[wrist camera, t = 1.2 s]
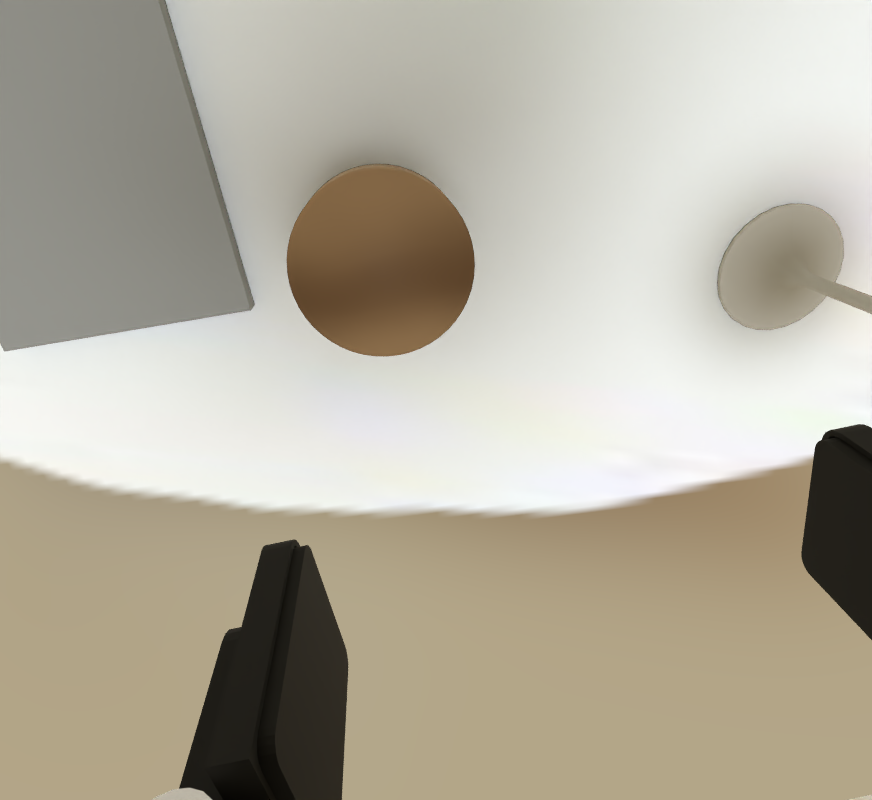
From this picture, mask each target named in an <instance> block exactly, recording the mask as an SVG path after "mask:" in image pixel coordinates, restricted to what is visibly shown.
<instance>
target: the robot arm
mask: <svg viewBox="0 0 872 800" xmlns="http://www.w3.org/2000/svg"><path fill="white" fill-rule="evenodd" d="M802 561H803V564H804V566H805V568H806V570H807V571H808V573H809V574H810V575H811V576H812V577H813V578H814V580H815V581H816V582H817V583H818V584H819V585H820V586H821V587H822V588H823V589H824V590H825V591H826V592H827V593H828V594H829V595H830V596H831V597H832V598H833V600H835V602H837V604H838V605H839V606H840V607H841V608H842V609H843V610H844V611H845V612H846V613H847V614H848V615H849V616H850V618H851V619H852V620H853V621H854V622H855V623H856V624H857V625H858V626H859V627H860V628H861V629H862V630H863V631H864V632H865V633H866V634H867V635H868V637H869V638H870V639H871V640H872V428H871V427H869V426H866V425H861V424H858V425H854V426H849V427H844V428H839V429H834V430H830V431H828V432H826V433H825V434H824V436H823V438H822V440H821V441H819V442H818V443H817V444H816V447H815V452H814V460H813V468H812V475H811V483H810V491H809V499H808V506H807V514H806V522H805V529H804V537H803V545H802ZM347 682H348V658H347V652H346V648H345V645H344V642H343V639H342V636H341V633H340V630H339V628H338V625H337V622H336V619H335V616H334V613H333V611H332V608H331V605H330V602H329V599H328V596H327V594H326V591H325V588H324V585H323V582H322V579H321V576H320V574H319V571H318V568H317V565H316V563H315V559H314V557H313V554H312V551H311V549H310V547H309V546H308V545H306V546H301V547H300V545H299V543H298V542H297V541H296V540H289V541H284V542H280V543H275V544H270V545H265V546H264V547H263V549H262V551H261V555H260V559H259V563H258V567H257V570H256V574H255V578H254V582H253V585H252V589H251V593H250V597H249V601H248V604H247V608H246V612H245V616H244V620H243V623H242V627H240V628H235V629H230V630H229V631H228V632H227V633H226V634H225V636H224V639H223V641H222V644H221V647H220V651H219V654H218V658H217V661H216V664H215V668H214V671H213V675H212V678H211V681H210V685H209V688H208V692H207V695H206V698H205V702H204V705H203V709H202V713H201V716H200V719H199V723H198V726H197V729H196V733H195V736H194V740H193V743H192V746H191V750H190V753H189V757H188V760H187V764H186V767H185V770H184V774H183V777H182V781H181V784H180V787H179V789H175V790H171V791H169V792H167V793H164V794H162V795H159V796H157V797H155V798H154V799H153V800H342V783H343V782H342V781H343V763H344V762H343V761H344V741H345V722H346V702H347ZM849 800H872V795H868V796H864V797H859V798H854V799H849Z"/></svg>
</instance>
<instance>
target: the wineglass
mask: <svg viewBox="0 0 872 800" xmlns="http://www.w3.org/2000/svg"><path fill="white" fill-rule="evenodd" d="M843 256H844V251H843V238H842V235H841V231H840V228H839V227H838V225H837V224H836V222H835V221H834V219H833V218H832V217H831V216H830V215H829V214H827V213H826V212H825V211H823V210H822V209H820V208H817V207H814V206H811V205H807V204H787V205H783V206H778V207H774V208H772V209H770V210H768V211H766V212H764V213H762V214H760V215H758V216H757V217H756V218H754V219H753V220H752V221H750V222H749V223H748V224H746V225H745V226H744V227H743V229H742V230H741V231H740V232H739V233H738V234H737V235H736V236H735V237H734V239H733V240H732V242H731V244H730V245H729V247H728V249H727V250H726V252H725V254H724V257H723V259H722V262H721V265H720V268H719V275H718V282H717V284H718V292H719V298H720V300H721V303H722V305H723V308H724V309H725V311H726V312H727V313H728V314H729V315H730V317H731V318H732V319H734V320H735V321H737V322H739V323H740V324H742V325H743V326H746V327H749V328H753V329H757V330H772V329H776V328H781V327H785V326H787V325H790V324H792V323H794V322H796V321H798V320H800V319H802V318H803V317H804V316H806V315H807V314H809V313H810V312H812V311H813V310H814V309H815V308H816V307H817V306H818V305H819V304H820V303H821V302H822V301H823V300H824V299H825V297H826V296H829V297H831V298H834V299H836V300H839V301H841V302H844V303H846V304H848V305H851V306H853V307H856V308H858V309H861V310H863V311H866V312H868V313H871V314H872V296H870V295H868V294H865V293H862V292H859V291H857V290H854V289H851V288H849V287H846V286H843V285H840V284H838V283H835V281H836V279H837V277H838V275H839V272H840V270H841V265H842V261H843Z"/></svg>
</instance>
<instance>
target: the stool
mask: <svg viewBox="0 0 872 800" xmlns="http://www.w3.org/2000/svg"><path fill="white" fill-rule="evenodd" d="M474 268H475V263H474V251H473V245H472V241H471V238H470V235H469V232H468V229H467V227H466V225H465V223H464V221H463V219H462V217H461V216H460V214H459V212H458V211H457V209H456V208H455V207H454V205H453V204H452V203H451V202H450V201H449V199H448V198H447V197H446V196H445V195H444V194H443V192H442V191H441V190H440V189H439V188H438V187H436V186H435V185H434V184H433V183H432V182H431V181H429V180H428V179H426V178H425V177H423V176H422V175H420V174H418V173H416V172H414V171H412V170H409V169H406V168H403V167H400V166H394V165H389V164H369V165H362V166H358V167H354V168H351V169H349V170H346V171H344V172H342V173H340V174H338V175H336V176H335V177H333V178H331V179H330V180H329V181H328V182H326V183H325V184H324V185H323V186H322V187H321V188H320V189H319V190H318V191H317V192H316V193H315V194H314V195H313V197H312V198H311V199H310V200H309V202H308V203H307V204H306V206H305V207H304V209H303V210H302V211H301V213H300V215H299V217H298V218H297V220H296V222H295V224H294V227H293V230H292V232H291V235H290V240H289V244H288V251H287V273H288V278H289V283H290V287H291V290H292V293H293V296H294V298H295V300H296V302H297V304H298V307H299V308H300V310H301V311H302V313H303V314H304V316H305V318H306V319H307V320H308V321H309V322H310V323H311V325H312V326H313V327H314V328H315V329H316V330H317V331H318V332H320V333H321V334H322V335H323V336H324V337H326V338H327V339H329V340H330V341H331V342H333V343H335V344H337V345H339V346H340V347H342V348H345V349H347V350H350V351H352V352H356V353H360V354H364V355H371V356H395V355H401V354H405V353H409V352H412V351H415V350H418V349H420V348H422V347H424V346H426V345H428V344H430V343H431V342H433V341H434V340H436V339H437V338H439V337H440V336H441V335H442V334H443V333H445V332H446V331H447V330H448V329H449V328H450V327H451V326H452V324H453V323H454V322H455V321H456V320H457V318H458V317H459V315H460V314H461V312H462V310H463V309H464V307H465V305H466V303H467V300H468V298H469V295H470V292H471V289H472V284H473V279H474Z"/></svg>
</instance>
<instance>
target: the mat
mask: <svg viewBox="0 0 872 800" xmlns="http://www.w3.org/2000/svg"><path fill="white" fill-rule="evenodd" d="M253 306H254V302H253V298H252V295H251V292H250V288H249V285H248V281H247V278H246V275H245V271H244V268H243V264H242V261H241V258H240V254H239V251H238V247H237V244H236V241H235V237H234V234H233V230H232V227H231V224H230V220H229V217H228V214H227V210H226V207H225V203H224V200H223V197H222V193H221V190H220V186H219V183H218V180H217V176H216V173H215V169H214V166H213V163H212V159H211V156H210V152H209V149H208V146H207V142H206V139H205V135H204V132H203V129H202V125H201V122H200V118H199V115H198V112H197V108H196V105H195V102H194V98H193V95H192V91H191V88H190V85H189V81H188V78H187V74H186V71H185V68H184V64H183V61H182V57H181V54H180V51H179V47H178V44H177V40H176V37H175V34H174V30H173V27H172V23H171V20H170V17H169V13H168V10H167V7H166V3H165V0H0V344H1V346H2V348H3V350H4V351H10V350H16V349H22V348H28V347H34V346H40V345H46V344H52V343H58V342H64V341H70V340H76V339H82V338H88V337H94V336H99V335H105V334H111V333H117V332H123V331H129V330H135V329H141V328H147V327H153V326H159V325H165V324H171V323H177V322H183V321H189V320H195V319H201V318H207V317H213V316H219V315H225V314H231V313H236V312H242V311H248V310H251V309H252V307H253Z"/></svg>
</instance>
